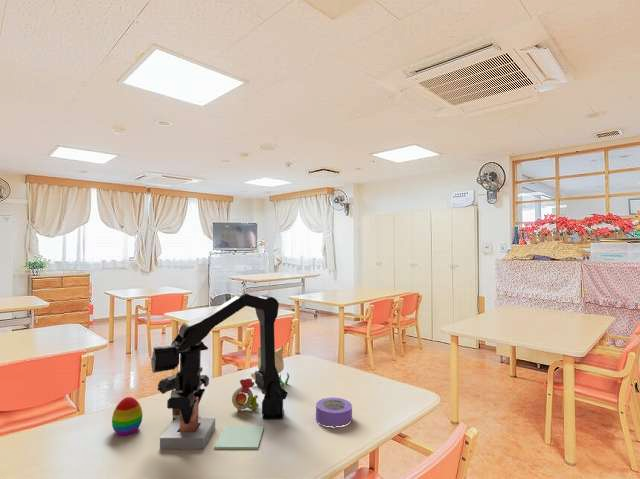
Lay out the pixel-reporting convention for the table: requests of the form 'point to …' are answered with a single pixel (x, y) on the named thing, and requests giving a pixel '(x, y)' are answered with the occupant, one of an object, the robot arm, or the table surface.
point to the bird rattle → (244, 396)
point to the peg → (193, 422)
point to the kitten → (278, 363)
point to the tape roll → (333, 412)
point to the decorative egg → (127, 416)
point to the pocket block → (187, 435)
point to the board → (240, 437)
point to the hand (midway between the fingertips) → (189, 420)
